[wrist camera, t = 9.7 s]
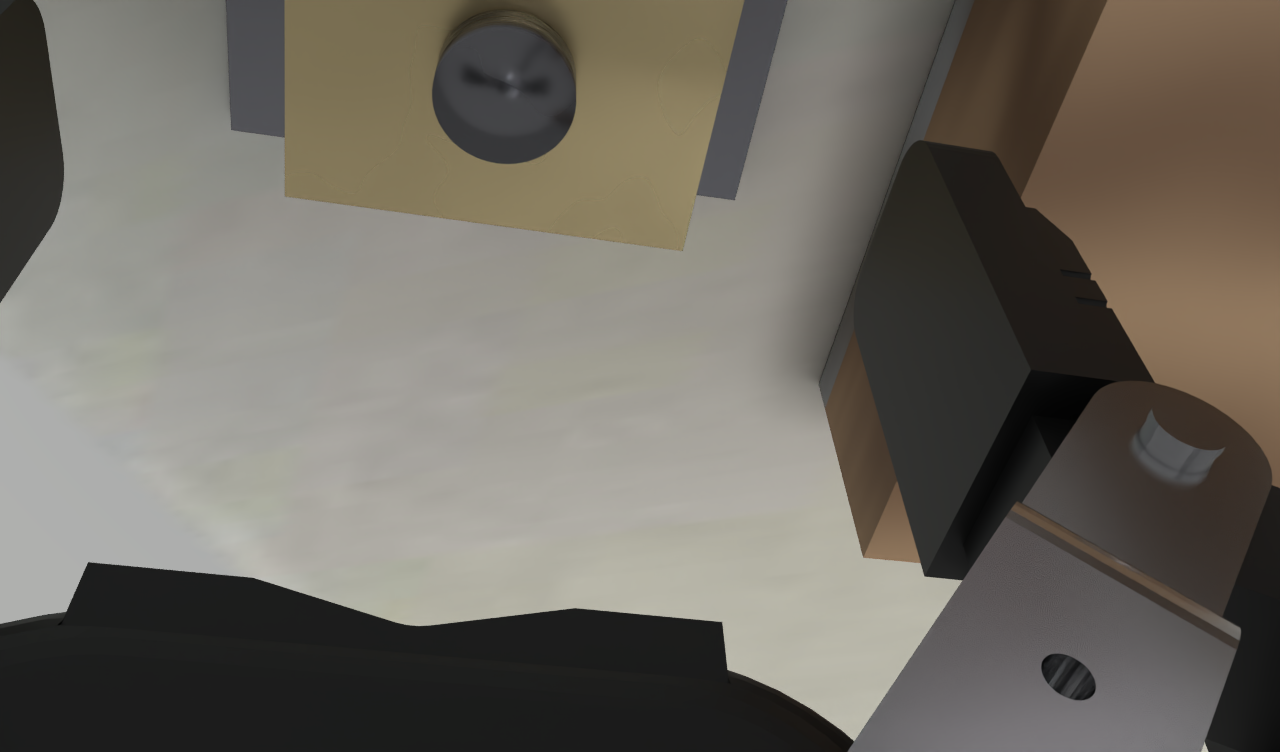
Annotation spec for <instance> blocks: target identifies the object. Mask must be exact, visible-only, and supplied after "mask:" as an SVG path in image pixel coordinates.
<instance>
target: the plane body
mask: <svg viewBox="0 0 1280 752" xmlns="http://www.w3.org/2000/svg"><path fill="white" fill-rule="evenodd" d="M918 140H923V141H930V142H936V143H942V144H948V145H955V146H961V147H967V148H974V149H980V150H986V151H992V152H994V153H995V154H996V155H997V156H998V158H999V159H1000V161H1001V163H1002V165H1003V167H1004V169H1005V170H1006V172H1007V174H1008V176H1009V178H1010V179H1011V181H1012V183H1013V185H1014V187H1015V189H1016V190H1017V192H1018V194H1019V196H1020V198H1021V200H1022V201H1023V203H1024V205H1025V207H1030V208H1036V209H1037V210H1038V211H1039V212H1040V213H1041V214H1043V215H1044V216H1045V217H1046V218H1047V219H1048V220H1049V221H1051V222H1052V223H1053V224H1054V225H1055V226H1056V227H1057V228H1059V229H1060V230H1061V231H1062V232H1063V233H1064V234H1065V235H1067V236H1068V237H1069V238H1070V239H1071V240H1072V241H1073V243H1074V244H1075V246H1076V248H1077V249H1078V251H1079V253H1080V255H1081V256H1082V258H1083V260H1084V261H1085V263H1086V265H1087V267H1088V268H1089V270H1090V272H1091V273H1092V275H1091V280H1095V281H1096V282H1097V284H1098V285H1099V287H1100V289H1101V291H1102V292H1103V294H1104V296H1105V297H1106V299H1107V301H1108V302H1107V308H1112V309H1113V311H1114V313H1115V315H1116V316H1117V318H1118V320H1119V321H1120V323H1121V325H1122V327H1123V328H1124V330H1125V332H1126V334H1127V335H1128V337H1129V339H1130V340H1131V342H1132V344H1133V346H1134V347H1135V349H1136V351H1137V352H1138V354H1139V356H1140V358H1141V359H1142V361H1143V363H1144V364H1145V366H1146V368H1147V370H1148V371H1149V373H1150V375H1151V376H1152V378H1153V380H1154V382H1155V383H1157V384H1161V385H1165V386H1169V387H1172V388H1175V389H1178V390H1180V391H1183V392H1186V393H1188V394H1190V395H1193V396H1195V397H1197V398H1199V399H1201V400H1203V401H1205V402H1207V403H1209V404H1210V405H1212V406H1214V407H1216V408H1217V409H1219V410H1220V411H1222V412H1223V413H1225V414H1226V415H1228V416H1229V417H1230V418H1232V419H1233V420H1234V421H1235V422H1237V423H1238V424H1239V425H1240V426H1242V427H1243V428H1244V429H1245V430H1246V431H1247V432H1248V433H1249V434H1250V435H1251V436H1252V437H1253V439H1254V440H1255V441H1256V442H1257V444H1258V445H1259V446H1260V447H1261V449H1262V450H1263V452H1264V454H1265V455H1266V457H1267V459H1268V461H1269V464H1270V467H1271V470H1272V478H1273V479H1272V485H1273V486H1276V487H1279V488H1280V0H956V1H955V4H954V6H953V9H952V12H951V15H950V18H949V20H948V23H947V26H946V29H945V32H944V34H943V37H942V40H941V43H940V46H939V48H938V51H937V54H936V57H935V60H934V63H933V65H932V68H931V71H930V74H929V77H928V79H927V82H926V85H925V88H924V91H923V93H922V96H921V99H920V102H919V105H918V107H917V110H916V113H915V116H914V119H913V122H912V124H911V127H910V130H909V133H908V136H907V138H906V141H905V144H904V147H903V150H902V152H901V155H900V158H899V161H898V164H897V167H896V169H895V172H894V175H893V178H892V181H891V183H890V186H889V189H888V192H887V195H886V197H885V200H884V203H883V206H882V209H881V211H880V214H879V217H878V220H877V223H876V226H875V228H874V231H873V234H872V237H871V240H870V242H869V245H868V248H867V251H866V254H865V256H864V259H863V262H862V265H861V268H860V270H859V273H858V276H857V279H856V282H855V285H854V287H853V290H852V293H851V296H850V299H849V301H848V304H847V307H846V310H845V313H844V315H843V318H842V321H841V324H840V327H839V330H838V332H837V335H836V338H835V341H834V344H833V346H832V349H831V352H830V355H829V358H828V360H827V363H826V366H825V369H824V372H823V374H822V377H821V380H820V383H819V387H820V391H821V395H822V399H823V403H824V407H825V410H826V414H827V418H828V422H829V426H830V430H831V434H832V438H833V442H834V446H835V449H836V453H837V457H838V461H839V465H840V469H841V473H842V477H843V481H844V484H845V488H846V492H847V496H848V500H849V504H850V508H851V512H852V516H853V520H854V523H855V527H856V531H857V535H858V539H859V543H860V547H861V551H862V555H863V558H873V559H884V560H894V561H905V562H915V563H921V562H920V559H919V555H918V552H917V548H916V545H915V541H914V538H913V534H912V531H911V527H910V524H909V520H908V517H907V513H906V510H905V506H904V503H903V499H902V496H901V492H900V489H899V485H898V482H897V478H896V475H895V471H894V468H893V464H892V461H891V457H890V454H889V450H888V447H887V443H886V440H885V436H884V433H883V430H882V426H881V423H880V419H879V416H878V412H877V409H876V405H875V402H874V398H873V395H872V391H871V388H870V384H869V381H868V377H867V374H866V370H865V367H864V363H863V360H862V356H861V353H860V349H859V346H858V342H857V339H856V335H855V330H854V317H853V316H854V300H855V293H856V288H857V283H858V279H859V276H860V273H861V270H862V267H863V264H864V261H865V259H866V256H867V253H868V251H869V248H870V245H871V242H872V240H873V237H874V234H875V232H876V229H877V226H878V224H879V221H880V218H881V215H882V213H883V210H884V207H885V205H886V202H887V199H888V196H889V194H890V191H891V188H892V186H893V183H894V180H895V178H896V175H897V172H898V169H899V167H900V164H901V162H902V160H903V158H904V156H905V154H906V152H907V150H908V149H909V148H910V146H911V145H912V144H913V143H914V142H916V141H918Z"/></svg>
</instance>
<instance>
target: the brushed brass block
mask: <svg viewBox="0 0 1280 752" xmlns="http://www.w3.org/2000/svg"><path fill="white" fill-rule="evenodd" d="M743 4H744V0H285V196H286V197H293V198H300V199H308V200H315V201H322V202H330V203H337V204H344V205H351V206H359V207H366V208H373V209H380V210H388V211H395V212H402V213H410V214H417V215H424V216H431V217H439V218H446V219H453V220H461V221H468V222H475V223H482V224H490V225H497V226H504V227H512V228H519V229H526V230H533V231H541V232H548V233H555V234H562V235H570V236H577V237H584V238H592V239H599V240H606V241H613V242H621V243H628V244H635V245H643V246H650V247H657V248H664V249H672V250H679V251H683V247H684V243H685V239H686V234H687V230H688V226H689V222H690V218H691V214H692V210H693V206H694V202H695V198H696V194H697V190H698V186H699V182H700V178H701V174H702V170H703V166H704V162H705V158H706V154H707V150H708V146H709V142H710V138H711V133H712V129H713V125H714V121H715V117H716V113H717V109H718V105H719V101H720V97H721V93H722V89H723V85H724V81H725V77H726V73H727V69H728V65H729V61H730V57H731V53H732V49H733V45H734V41H735V37H736V32H737V28H738V24H739V20H740V16H741V12H742V8H743Z"/></svg>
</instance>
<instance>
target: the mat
mask: <svg viewBox="0 0 1280 752" xmlns="http://www.w3.org/2000/svg"><path fill="white" fill-rule="evenodd" d="M786 4H787V0H744V4H743V8H742V12H741V16H740V20H739V24H738V28H737V32H736V37H735V41H734V45H733V49H732V53H731V57H730V61H729V65H728V69H727V73H726V77H725V81H724V85H723V89H722V93H721V97H720V101H719V105H718V109H717V113H716V117H715V121H714V125H713V129H712V133H711V138H710V142H709V146H708V150H707V154H706V158H705V162H704V166H703V170H702V174H701V178H700V182H699V186H698V190H697V194H696V195H701V196H708V197H715V198H723V199H730V200H735V197H736V193H737V189H738V186H739V182H740V178H741V174H742V171H743V167H744V163H745V159H746V155H747V152H748V148H749V144H750V140H751V137H752V133H753V129H754V125H755V121H756V118H757V114H758V110H759V106H760V103H761V99H762V95H763V91H764V87H765V84H766V80H767V76H768V72H769V68H770V65H771V61H772V57H773V53H774V50H775V46H776V42H777V38H778V34H779V31H780V27H781V23H782V19H783V16H784V12H785V8H786ZM226 12H227V37H228V62H229V87H230V111H231V130H235V131H242V132H249V133H256V134H264V135H271V136H278V137H285V0H226Z"/></svg>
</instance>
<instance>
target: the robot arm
mask: <svg viewBox="0 0 1280 752" xmlns="http://www.w3.org/2000/svg"><path fill="white" fill-rule="evenodd" d="M63 181H64V161H63V152H62V145H61V138H60V131H59V124H58V117H57V110H56V103H55V96H54V89H53V82H52V75H51V68H50V61H49V54H48V47H47V40H46V33H45V28H44V23H43V19H42V16H41V13H40V11H39V8H38V7H37V5H36V3H35V2H34V1H33V0H0V302H1V301H2V299H3V298H4V296H5V295H6V293H7V292H8V290H9V289H10V287H11V286H12V284H13V283H14V281H15V280H16V278H17V277H18V275H19V274H20V272H21V271H22V269H23V268H24V266H25V265H26V263H27V262H28V260H29V259H30V257H31V256H32V254H33V253H34V251H35V250H36V248H37V247H38V245H39V244H40V242H41V241H42V239H43V238H44V236H45V235H46V233H47V232H48V230H49V229H50V227H51V226H52V224H53V222H54V220H55V218H56V215H57V212H58V209H59V206H60V202H61V197H62V191H63ZM1091 275H1092V273H1091V272H1090V270H1089V268H1088V267H1087V265H1086V263H1085V261H1084V260H1083V258H1082V256H1081V255H1080V253H1079V251H1078V249H1077V248H1076V246H1075V244H1074V243H1073V241H1072V240H1071V239H1070V238H1069V237H1068V236H1067V235H1065V234H1064V233H1063V232H1062V231H1061V230H1060V229H1059V228H1057V227H1056V226H1055V225H1054V224H1053V223H1052V222H1051V221H1049V220H1048V219H1047V218H1046V217H1045V216H1044V215H1043V214H1041V213H1040V212H1039V211H1038V210H1037V209H1036V208H1030V207H1025V205H1024V203H1023V201H1022V200H1021V198H1020V196H1019V194H1018V192H1017V190H1016V189H1015V187H1014V185H1013V183H1012V181H1011V179H1010V178H1009V176H1008V174H1007V172H1006V170H1005V169H1004V167H1003V165H1002V163H1001V161H1000V159H999V158H998V156H997V155H996V154H995V153H994V152H992V151H986V150H980V149H974V148H967V147H961V146H955V145H948V144H942V143H936V142H930V141H923V140H918V141H916V142H914V143H913V144H912V145H911V146H910V148H909V149H908V150H907V152H906V154H905V156H904V158H903V160H902V162H901V164H900V167H899V169H898V172H897V175H896V178H895V180H894V183H893V186H892V188H891V191H890V194H889V196H888V199H887V202H886V205H885V207H884V210H883V213H882V215H881V218H880V221H879V224H878V226H877V229H876V232H875V234H874V237H873V240H872V242H871V245H870V248H869V251H868V253H867V256H866V259H865V261H864V264H863V267H862V270H861V273H860V276H859V279H858V283H857V288H856V293H855V300H854V316H853V317H854V330H855V335H856V339H857V342H858V346H859V349H860V353H861V356H862V360H863V363H864V367H865V370H866V374H867V377H868V381H869V384H870V388H871V391H872V395H873V398H874V402H875V405H876V409H877V412H878V416H879V419H880V423H881V426H882V430H883V433H884V436H885V440H886V443H887V447H888V450H889V454H890V457H891V461H892V464H893V468H894V471H895V475H896V478H897V482H898V485H899V489H900V492H901V496H902V499H903V503H904V506H905V510H906V513H907V517H908V520H909V524H910V527H911V531H912V534H913V538H914V541H915V545H916V548H917V552H918V555H919V559H920V562H921V566H922V569H923V573H924V576H926V577H936V578H946V579H955V580H963V581H962V582H961V584H960V585H959V587H958V588H957V590H956V591H955V593H954V594H953V596H952V597H951V599H950V600H949V602H948V603H947V605H946V606H945V608H944V609H943V611H942V612H941V614H940V615H939V617H938V618H937V620H936V621H935V623H934V624H933V625H932V627H931V628H930V630H929V631H928V633H927V634H926V636H925V637H924V639H923V640H922V642H921V643H920V645H919V646H918V648H917V649H916V651H915V652H914V654H913V655H912V657H911V658H910V660H909V661H908V663H907V664H906V666H905V667H904V669H903V670H902V671H901V673H900V674H899V676H898V677H897V679H896V680H895V682H894V683H893V685H892V686H891V688H890V689H889V691H888V692H887V694H886V695H885V697H884V698H883V700H882V701H881V703H880V704H879V706H878V707H877V709H876V710H875V712H874V713H873V715H872V716H871V718H870V719H869V720H868V722H867V723H866V725H865V726H864V728H863V729H862V731H861V732H860V734H859V735H858V737H857V738H856V740H855V741H853V740H852V739H851V738H850V737H849V736H847V735H846V734H845V733H844V732H843V731H842V730H840V729H839V728H837V727H836V726H835V725H833V724H832V723H830V722H829V721H827V720H826V719H825V718H823V717H822V716H820V715H819V714H817V713H816V712H815V711H813V710H812V709H810V708H808V707H807V706H805V705H803V704H801V703H800V702H798V701H796V700H794V699H792V698H791V697H789V696H787V695H785V694H784V693H782V692H780V691H778V690H776V689H774V688H771V687H769V686H767V685H764V684H762V683H760V682H758V681H755V680H753V679H751V678H749V677H746V676H743V675H741V674H738V673H735V672H732V671H729V670H727V663H726V653H725V644H724V635H723V626H722V622H715V621H704V620H693V619H683V618H672V617H662V616H651V615H640V614H630V613H619V612H609V611H598V610H587V609H577V608H574V609H566V610H557V611H549V612H540V613H532V614H524V615H515V616H507V617H499V618H490V619H482V620H473V621H465V622H457V623H448V624H440V625H431V626H410V625H404V624H399V623H395V622H392V621H389V620H386V619H382V618H379V617H376V616H373V615H370V614H367V613H363V612H360V611H357V610H354V609H351V608H347V607H344V606H341V605H338V604H335V603H331V602H328V601H325V600H322V599H319V598H315V597H312V596H309V595H306V594H303V593H300V592H296V591H293V590H290V589H287V588H284V587H280V586H277V585H274V584H271V583H268V582H264V581H261V580H258V579H255V578H248V577H238V576H227V575H216V574H206V573H195V572H185V571H173V570H163V569H153V568H142V567H131V566H121V565H111V564H100V563H90V562H88V564H87V566H86V569H85V571H84V573H83V576H82V578H81V580H80V582H79V584H78V587H77V589H76V591H75V594H74V596H73V598H72V600H71V603H70V605H69V607H68V609H67V612H63V613H56V614H48V615H42V616H37V617H32V618H27V619H22V620H17V621H13V622H8V623H3V624H0V752H1201V750H1202V747H1203V745H1204V742H1205V744H1206V746H1207V749H1208V751H1209V752H1280V488H1279V487H1276V486H1273V485H1272V479H1273V478H1272V470H1271V467H1270V464H1269V461H1268V459H1267V457H1266V455H1265V454H1264V452H1263V450H1262V449H1261V447H1260V446H1259V445H1258V444H1257V442H1256V441H1255V440H1254V439H1253V437H1252V436H1251V435H1250V434H1249V433H1248V432H1247V431H1246V430H1245V429H1244V428H1243V427H1242V426H1240V425H1239V424H1238V423H1237V422H1235V421H1234V420H1233V419H1232V418H1230V417H1229V416H1228V415H1226V414H1225V413H1223V412H1222V411H1220V410H1219V409H1217V408H1216V407H1214V406H1212V405H1210V404H1209V403H1207V402H1205V401H1203V400H1201V399H1199V398H1197V397H1195V396H1193V395H1190V394H1188V393H1186V392H1183V391H1180V390H1178V389H1175V388H1172V387H1169V386H1165V385H1161V384H1157V383H1155V382H1154V380H1153V378H1152V376H1151V375H1150V373H1149V371H1148V370H1147V368H1146V366H1145V364H1144V363H1143V361H1142V359H1141V358H1140V356H1139V354H1138V352H1137V351H1136V349H1135V347H1134V346H1133V344H1132V342H1131V340H1130V339H1129V337H1128V335H1127V334H1126V332H1125V330H1124V328H1123V327H1122V325H1121V323H1120V321H1119V320H1118V318H1117V316H1116V315H1115V313H1114V311H1113V309H1112V308H1107V302H1108V301H1107V299H1106V297H1105V296H1104V294H1103V292H1102V291H1101V289H1100V287H1099V285H1098V284H1097V282H1096V281H1095V280H1091Z"/></svg>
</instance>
